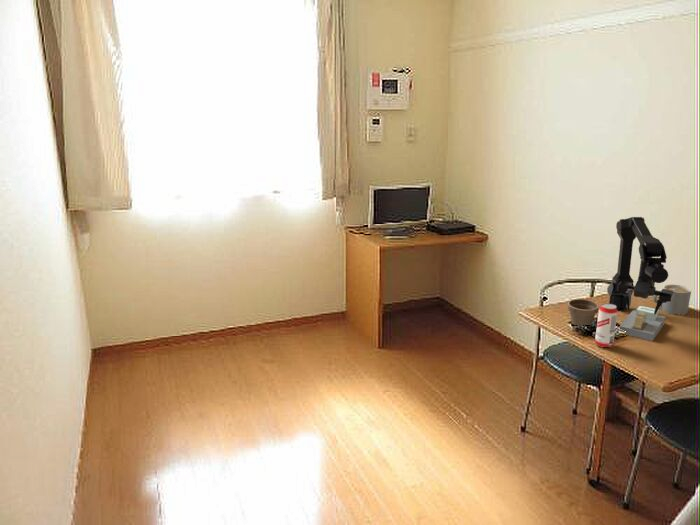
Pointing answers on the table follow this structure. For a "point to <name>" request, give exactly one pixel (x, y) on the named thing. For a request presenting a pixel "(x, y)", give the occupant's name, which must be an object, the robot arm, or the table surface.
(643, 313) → the gold faceted block
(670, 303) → the coffee mug
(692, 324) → the table surface
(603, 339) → the beer can
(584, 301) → the flower pot
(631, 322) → the housing
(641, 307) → the cover
